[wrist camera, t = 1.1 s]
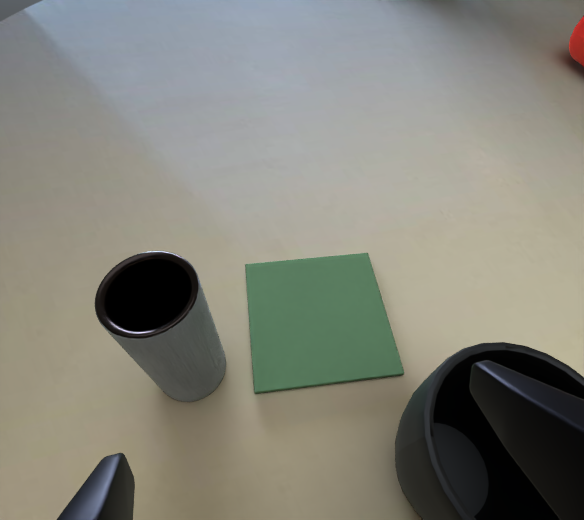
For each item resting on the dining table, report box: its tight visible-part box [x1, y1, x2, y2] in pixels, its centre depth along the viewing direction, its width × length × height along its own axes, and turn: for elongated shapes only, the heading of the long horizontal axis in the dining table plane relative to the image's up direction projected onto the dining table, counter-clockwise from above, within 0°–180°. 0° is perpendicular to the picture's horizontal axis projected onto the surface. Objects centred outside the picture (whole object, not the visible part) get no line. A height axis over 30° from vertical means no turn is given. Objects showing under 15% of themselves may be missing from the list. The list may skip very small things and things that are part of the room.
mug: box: [395, 342, 584, 520], centre depth 18 cm, size 8×12×10 cm
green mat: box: [245, 253, 404, 394], centre depth 27 cm, size 10×10×1 cm
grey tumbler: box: [95, 251, 226, 402], centre depth 21 cm, size 4×4×10 cm
